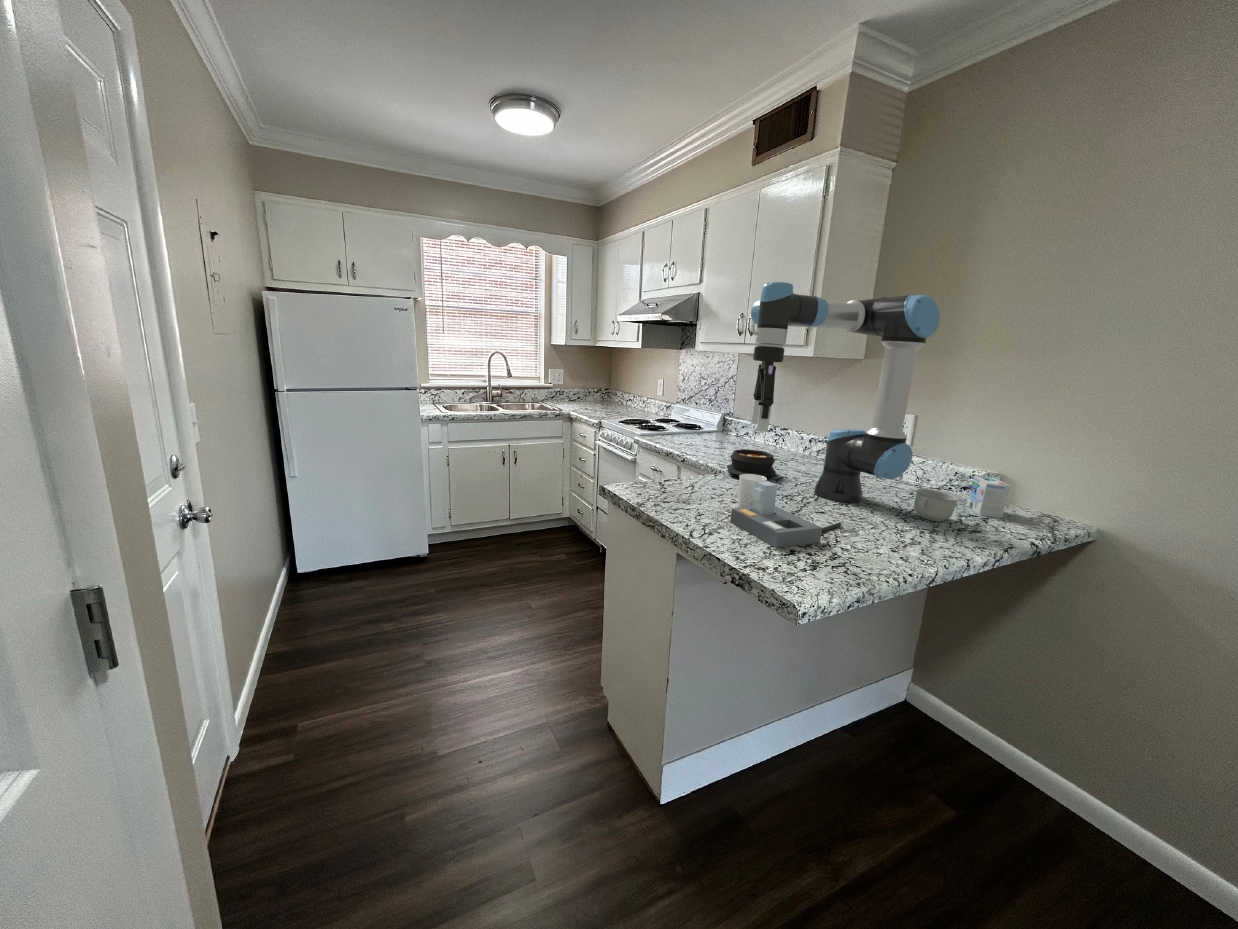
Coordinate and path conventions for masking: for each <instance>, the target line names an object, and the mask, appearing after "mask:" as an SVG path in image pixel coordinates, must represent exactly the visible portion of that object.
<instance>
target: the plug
mask: <svg viewBox="0 0 1238 929" xmlns="http://www.w3.org/2000/svg"><path fill="white" fill-rule="evenodd" d="M777 491H778V484H776V483H773V482H771V481H769V480H767V481H762V482H756V485H755V490H754V498H753V499H754V501H753V509H752V511H753V512H755V513H757V514H759V515H761V516H763V515H774V507H775V506H776V500H777Z"/></svg>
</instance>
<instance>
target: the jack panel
mask: <svg viewBox="0 0 1238 929" xmlns="http://www.w3.org/2000/svg"><path fill="white" fill-rule="evenodd" d="M752 509H753V507H742V508H738V507H734V508H733V507H731V512H730V521H729V523H731V524H733V525H735V526H736V527H738V528H739V529H742V530H743V531H746V532H747V533H749V534H751V535H753V536H754V537H756V538H757V539H758V540H759V539H760V540H762V541H763V542H764V543H767V544H768V545H770V546H771V547H773V548H775V549H781V548H788V547H796V546H803V545H805V546H806V545H811V544H813V545H814V544H819V543H820V544H821V537H822V533H823V532H822V528H823V527H821V526H820V525H818V524H815V523H813V522H811V521H808V520H807V519H804V518H802V517H800V516H797V515H795V514H794V513H791V512H789V511H787V510H784V509H783V508H780V507H778V506H776V505H775V507H774V515H763V516H761V515H759V514H757V513H755V512H753V511H752Z"/></svg>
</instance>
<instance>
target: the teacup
mask: <svg viewBox="0 0 1238 929" xmlns="http://www.w3.org/2000/svg"><path fill="white" fill-rule="evenodd" d="M958 501H959V499H958V497H957V496H955V495H953V494H951V493H947V492H944V491H941V490H937V489H936V490H935V489H931V488H917V490H916V495H915V497H914V503H913V509H914V511H915V512H916V513H917V515H918V516H919V517H921V518H923V519H925V520H927V521H931V522H943V521H946V520H949V519H950V518H952V516H953V514H954V512H955V509H956V507H957V506H956V505H957V502H958Z"/></svg>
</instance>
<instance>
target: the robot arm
mask: <svg viewBox="0 0 1238 929" xmlns="http://www.w3.org/2000/svg"><path fill="white" fill-rule="evenodd" d="M762 286H763V287H762V290H761V294H760V298H759V299H758V300H756V301H755V302H754V304H753V305H752V307H751V310H750V318H751V320H752V322H753V323H754V324H755V325H757V328H756V331H754V333H753V335H754V336H755V344H756V345H755V346H754V348H753V357H752V359H753V360H754V361H757V362H761V363H759V365H758V369H757V376H756V381H755V382H756V383H755V387H754V392H753V394H752V395H753V406H752V412H751V421H750V424H752V425H756V432H762V433H763V432H764V433H768V432H769V426H770V418H771V411H772V405H774V402H775V401H774V399H775V397H774V396H775V381H776V379H775V378H776V370H777V366H776V365H774V364H775V363H783V362H784V357H785V348H784V346H786V343H787V336H788V335H787V334H788V328H789V327H793V328H795V327H796V328H797V327H798V328H817V329H841V330H842V331H844V332H846V333H855V334H856V333H857V334H861V335H867V336H871V337H873V336H874V337H881V339H880V343H881V344H882V345H883V347H884V349H885V350H884V356H883V361H882V366H881V371H880V376H879V381H878V388H877V392H876V393H877V394H876V399H875V404H874V410H873V415H872V422H871V426H870V428H868V429H866V430H865V429H853V428H852V429H851V428H850V429H849V428H848V429H845V428H843V429H832V430H830V432H829V434H828V438H827V441H826V448H825V456H824V461H823V462H824V463H823V470H822V472H821V473H820V477H819V478H818V480H817V483H816V484H815V487H814V492H813V493H814V494H815V495H817V496H818V497H821V498H823V499H827V500H831V501H836V502H842V503H858V502H861V501H862V500H863V490H862V481H861V474H862V473H864V474H867V475H870V476H874V477H876V478H878V479H884V480H885V479H886V480H895V479H897V478H899V477H901V476H902V475H903V474H904V473H905V472H906V471H907V470H908V468H909V467H910V466H911V463H912V459H913V455H914V453H913V449H912V447H911V446H910V445H908V444H907V438H908V437H907V435H906V434H905V432H904V431H903V429H904V424H905V419H906V413H907V409H908V403H909V398H910V393H911V389H912V388H911V387H912V383H913V378H914V372H915V367H916V362H917V357H918V352H919V350H920V349H921V348H922V347H924V346H925V345H926V341H927V338H930V337H932V336H934V334H935V333H936V331H937V330H938V329H939V326H940V320H941V313H940V308H939V305H938V304H937V302H936V300H934V298H933V297H931V296H929V295H925V294H910V295H898V296H883V297H876V298H870V299H869V298H868V299H861V300H859V299H852V300H849V301H847V302H837V301H827V300H826V299H824V298H822V297H819V296H816V295H807V294H806V295H804V294H798V293H797V294H796V293H794V285H793V283H790V282H784V281H783V282H782V281H771V282H769V281H768V282H766V283H765V284H764V285H762Z"/></svg>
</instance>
